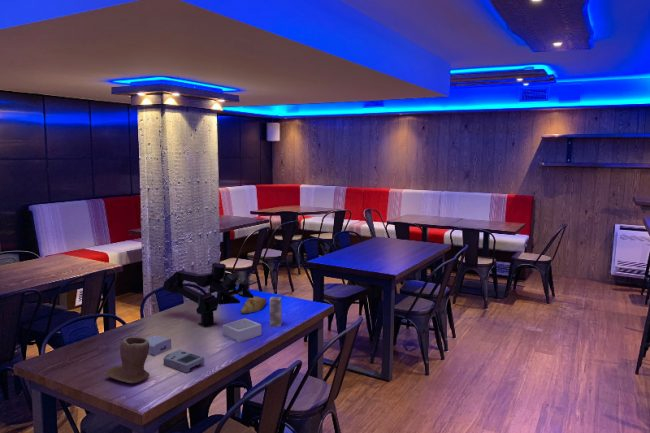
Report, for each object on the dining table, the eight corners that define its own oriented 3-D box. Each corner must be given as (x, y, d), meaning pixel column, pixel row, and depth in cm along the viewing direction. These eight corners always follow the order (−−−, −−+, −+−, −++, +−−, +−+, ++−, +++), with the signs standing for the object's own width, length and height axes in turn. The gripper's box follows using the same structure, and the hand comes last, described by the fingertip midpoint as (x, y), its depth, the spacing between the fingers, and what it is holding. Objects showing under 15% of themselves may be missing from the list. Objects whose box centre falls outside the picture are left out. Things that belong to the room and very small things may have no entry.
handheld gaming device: (179, 357, 206) (179, 348, 205) (204, 365, 197) (204, 356, 197) (161, 365, 198) (161, 356, 198) (186, 374, 190) (186, 365, 190)
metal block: (270, 326, 239) (269, 300, 238) (271, 322, 244) (270, 296, 243) (280, 326, 239) (279, 300, 238) (281, 322, 244) (281, 297, 243)
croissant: (246, 322, 256) (252, 310, 253) (232, 311, 260) (237, 298, 257) (269, 309, 275) (274, 297, 272) (255, 299, 278) (260, 287, 275)
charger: (147, 342, 222) (171, 348, 214) (129, 349, 214) (154, 356, 206) (146, 332, 221) (171, 338, 214) (129, 338, 213) (153, 345, 206)
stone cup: (158, 375, 188) (155, 337, 186) (131, 388, 178) (129, 348, 176) (130, 367, 196) (128, 330, 194) (103, 379, 186) (101, 340, 184)
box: (222, 335, 228) (222, 324, 228) (245, 328, 237) (244, 318, 237) (238, 342, 220) (238, 331, 219) (261, 335, 229) (261, 324, 228)
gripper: (209, 275, 225) (235, 288, 218) (237, 267, 241) (262, 278, 233) (206, 298, 228) (231, 311, 220) (234, 288, 244) (258, 300, 236)
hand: (246, 299), depth 227 cm, fingers open, 9 cm apart
